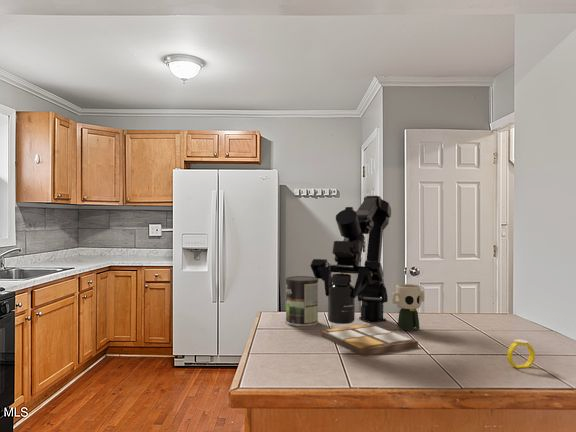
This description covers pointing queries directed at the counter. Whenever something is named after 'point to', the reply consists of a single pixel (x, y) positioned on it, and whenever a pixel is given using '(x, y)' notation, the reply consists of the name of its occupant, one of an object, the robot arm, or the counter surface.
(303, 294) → the coffee can
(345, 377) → the counter surface
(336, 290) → the supplement bottle
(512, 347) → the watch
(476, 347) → the counter surface
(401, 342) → the wooden tray
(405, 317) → the character mug
